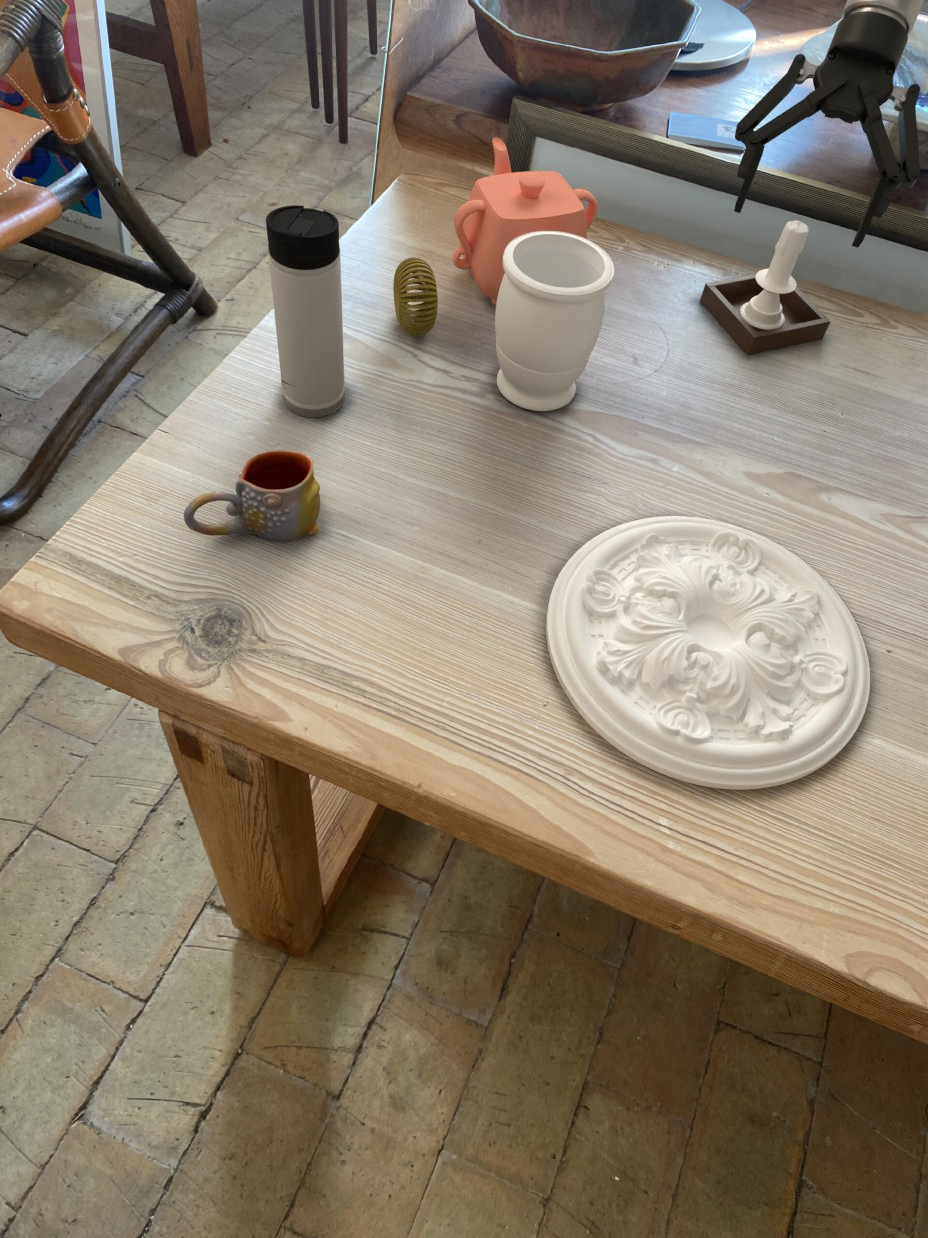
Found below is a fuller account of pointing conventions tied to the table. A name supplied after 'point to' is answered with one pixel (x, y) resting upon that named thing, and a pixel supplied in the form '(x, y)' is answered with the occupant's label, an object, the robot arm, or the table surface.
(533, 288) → the jar
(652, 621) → the ceiling medallion
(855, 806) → the table surface
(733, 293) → the tray
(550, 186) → the teapot
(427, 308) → the sculpture
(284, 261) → the travel mug
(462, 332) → the table surface
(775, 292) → the candle
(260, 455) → the mug
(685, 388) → the table surface
